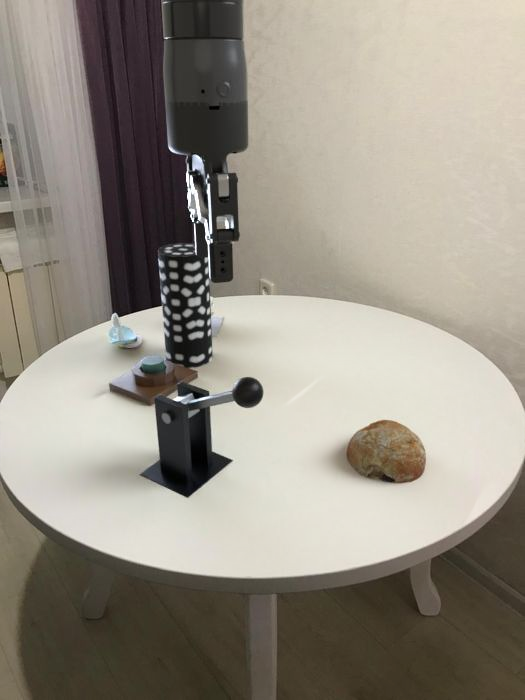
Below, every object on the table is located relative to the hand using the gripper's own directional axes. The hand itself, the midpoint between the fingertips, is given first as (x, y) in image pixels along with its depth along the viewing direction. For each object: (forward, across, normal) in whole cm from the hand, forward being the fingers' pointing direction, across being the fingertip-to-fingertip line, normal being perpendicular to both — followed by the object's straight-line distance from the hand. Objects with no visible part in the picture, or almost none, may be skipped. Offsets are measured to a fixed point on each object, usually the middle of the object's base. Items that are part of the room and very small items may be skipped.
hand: (213, 268), depth 60 cm
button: (+25, -28, -6) cm, 38 cm away
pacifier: (+29, -47, -9) cm, 56 cm away
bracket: (+28, -4, -4) cm, 29 cm away
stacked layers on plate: (+29, -52, +5) cm, 59 cm away
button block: (+28, -28, -6) cm, 40 cm away
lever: (+17, 0, 0) cm, 17 cm away
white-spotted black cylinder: (+29, -38, +1) cm, 48 cm away
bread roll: (+29, 0, +22) cm, 36 cm away
